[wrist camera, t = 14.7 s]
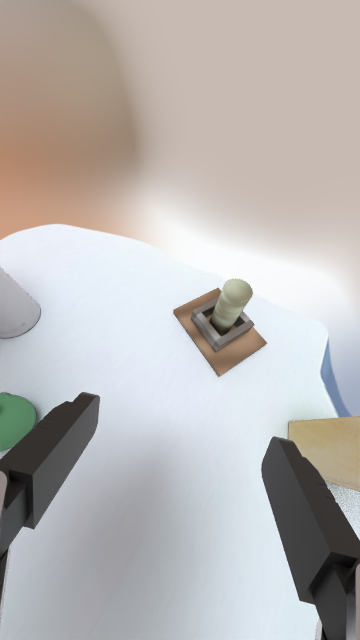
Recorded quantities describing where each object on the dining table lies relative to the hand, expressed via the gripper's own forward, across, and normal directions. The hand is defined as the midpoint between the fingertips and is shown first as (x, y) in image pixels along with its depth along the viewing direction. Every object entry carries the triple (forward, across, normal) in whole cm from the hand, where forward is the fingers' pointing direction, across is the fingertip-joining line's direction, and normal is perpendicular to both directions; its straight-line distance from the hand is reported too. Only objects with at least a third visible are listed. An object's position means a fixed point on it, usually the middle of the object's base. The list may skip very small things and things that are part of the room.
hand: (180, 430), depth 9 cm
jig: (+32, -6, +4) cm, 33 cm away
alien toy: (+16, +23, +21) cm, 35 cm away
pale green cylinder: (+31, -6, +3) cm, 32 cm away
